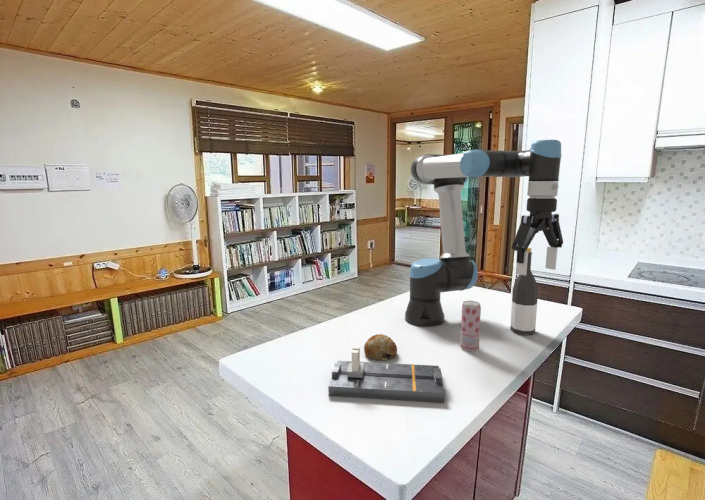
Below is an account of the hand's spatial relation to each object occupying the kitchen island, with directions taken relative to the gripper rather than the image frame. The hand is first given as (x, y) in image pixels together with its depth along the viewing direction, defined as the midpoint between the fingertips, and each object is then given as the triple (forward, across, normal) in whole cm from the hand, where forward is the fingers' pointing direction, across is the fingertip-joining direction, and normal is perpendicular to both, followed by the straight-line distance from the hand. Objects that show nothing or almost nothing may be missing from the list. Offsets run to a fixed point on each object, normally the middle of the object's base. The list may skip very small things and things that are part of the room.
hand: (536, 271), depth 108 cm
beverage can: (+27, -10, +14) cm, 32 cm away
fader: (+24, -52, +14) cm, 59 cm away
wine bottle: (+27, +17, +14) cm, 35 cm away
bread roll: (+27, -37, +26) cm, 53 cm away
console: (+26, -46, +9) cm, 54 cm away
